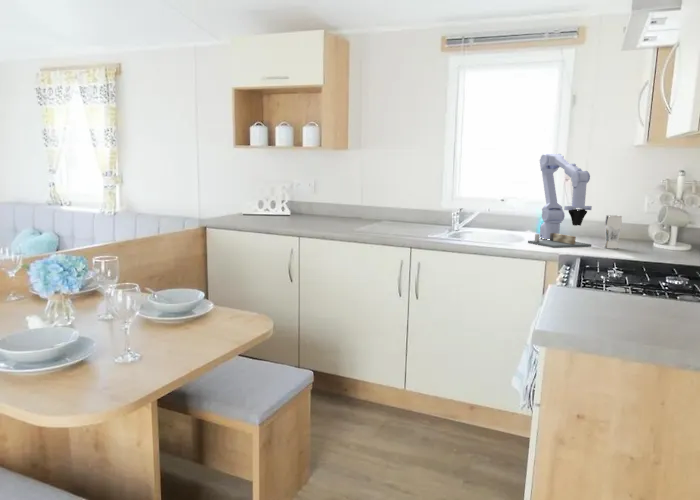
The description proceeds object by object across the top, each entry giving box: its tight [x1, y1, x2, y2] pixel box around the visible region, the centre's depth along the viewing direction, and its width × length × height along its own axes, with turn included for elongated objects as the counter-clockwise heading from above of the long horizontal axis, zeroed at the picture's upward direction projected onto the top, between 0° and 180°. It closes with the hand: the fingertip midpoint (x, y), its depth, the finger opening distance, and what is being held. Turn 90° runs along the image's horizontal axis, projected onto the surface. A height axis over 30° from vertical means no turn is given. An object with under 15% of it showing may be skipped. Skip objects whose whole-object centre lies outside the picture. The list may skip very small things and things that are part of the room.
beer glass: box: [603, 214, 623, 250], centre depth 253 cm, size 7×7×15 cm
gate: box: [550, 233, 577, 244], centre depth 263 cm, size 16×2×4 cm, turn 20°
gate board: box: [527, 233, 592, 249], centre depth 263 cm, size 18×22×5 cm
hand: (576, 225), depth 262 cm, fingers closed
